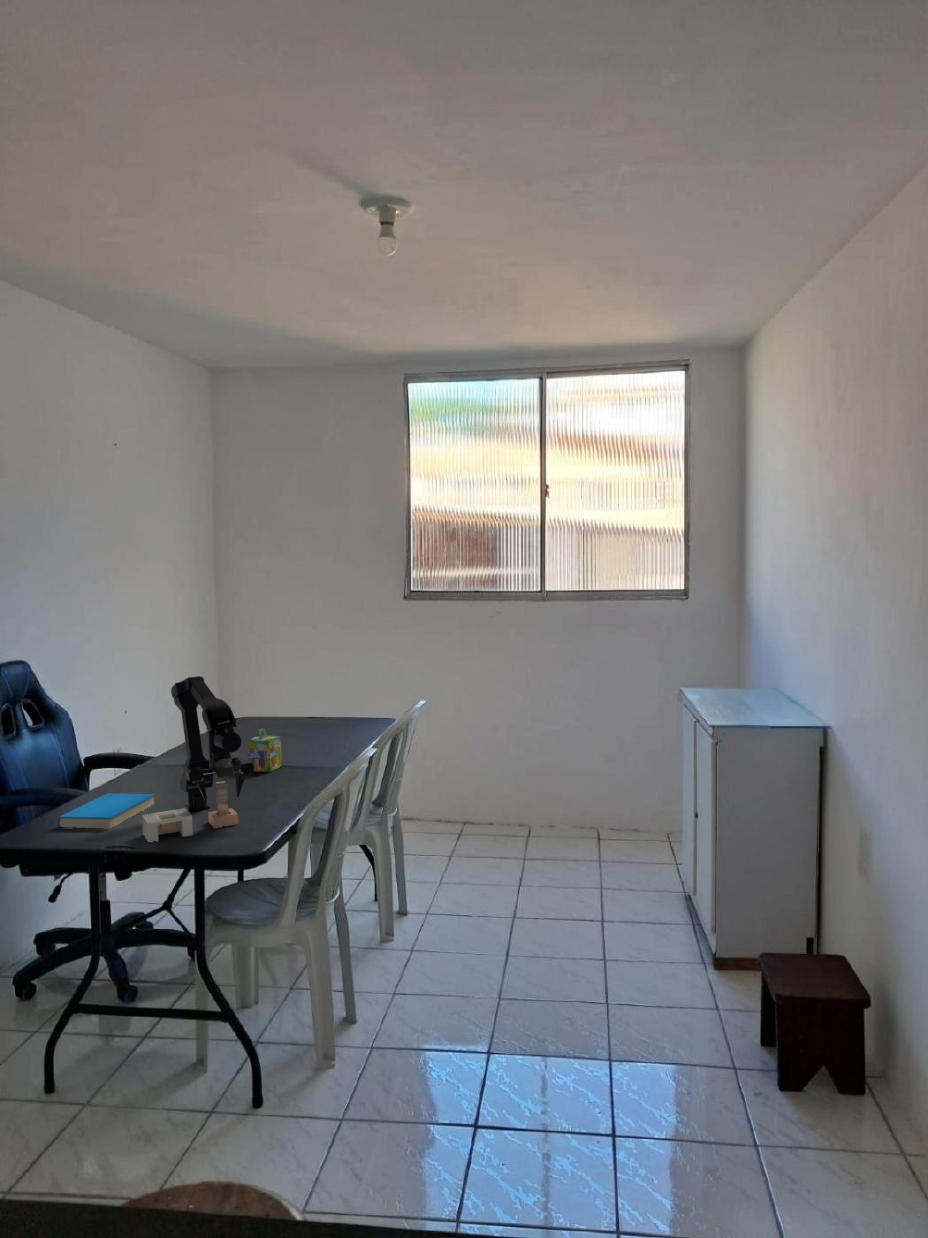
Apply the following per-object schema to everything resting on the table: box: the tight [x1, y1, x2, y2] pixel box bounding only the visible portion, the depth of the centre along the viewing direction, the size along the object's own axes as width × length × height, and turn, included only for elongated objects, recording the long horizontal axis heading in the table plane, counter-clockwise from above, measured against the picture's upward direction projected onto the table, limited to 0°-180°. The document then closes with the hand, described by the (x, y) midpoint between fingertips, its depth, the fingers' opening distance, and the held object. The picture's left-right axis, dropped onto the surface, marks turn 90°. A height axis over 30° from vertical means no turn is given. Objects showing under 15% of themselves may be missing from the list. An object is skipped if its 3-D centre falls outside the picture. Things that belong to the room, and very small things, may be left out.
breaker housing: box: [141, 807, 194, 843], centre depth 257 cm, size 9×12×6 cm
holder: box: [207, 807, 239, 829], centre depth 266 cm, size 7×7×3 cm
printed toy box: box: [246, 727, 283, 773], centre depth 330 cm, size 9×9×15 cm
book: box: [58, 793, 155, 830], centre depth 278 cm, size 17×4×25 cm
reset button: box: [160, 822, 176, 830], centre depth 256 cm, size 4×4×2 cm
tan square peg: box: [215, 780, 229, 816], centre depth 266 cm, size 3×3×12 cm
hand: (221, 799), depth 266 cm, fingers open, 9 cm apart
